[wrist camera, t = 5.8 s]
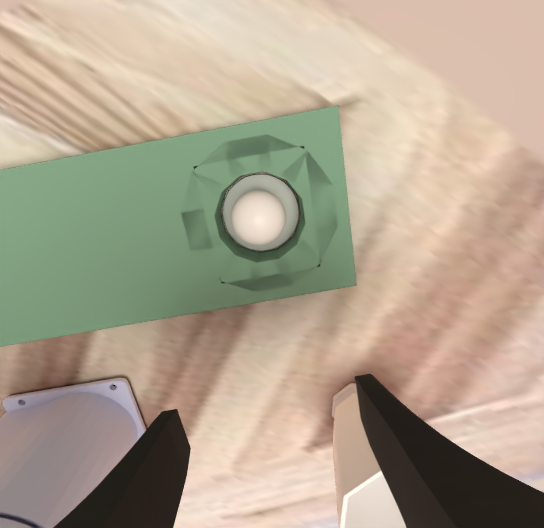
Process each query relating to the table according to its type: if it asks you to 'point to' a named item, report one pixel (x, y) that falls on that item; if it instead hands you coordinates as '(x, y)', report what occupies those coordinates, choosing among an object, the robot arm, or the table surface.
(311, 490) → the table surface
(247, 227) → the ball
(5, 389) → the table surface
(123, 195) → the putting strip
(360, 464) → the cup
